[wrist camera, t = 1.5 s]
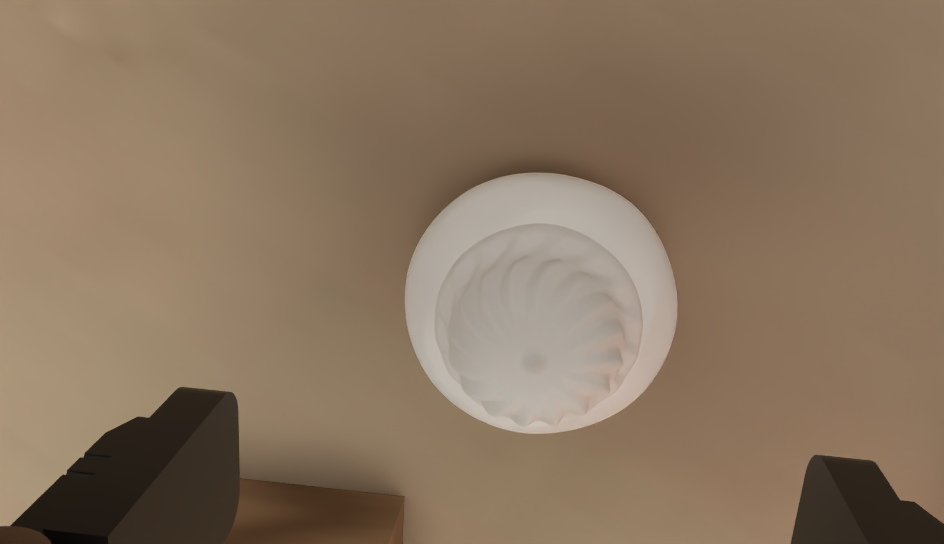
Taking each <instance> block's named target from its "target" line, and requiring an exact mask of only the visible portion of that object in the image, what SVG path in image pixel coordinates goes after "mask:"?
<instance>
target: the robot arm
mask: <svg viewBox="0 0 944 544" xmlns="http://www.w3.org/2000/svg"><path fill="white" fill-rule="evenodd" d="M239 494H240V474H239V426H238V404H237V399H236V397H235V395H234V394H233V393H232V392H225V391H216V390H206V389H196V388H187V387H180V388H178V389H177V390H176V391H175V392H174V393H173V394H172V395H171V396H170V397H169V398H168V399H167V400H166V401H165V402H164V403H163V404H162V405H161V406H160V407H159V408H158V409H157V410H156V411H155V412H154V413H153V415H152V416H151V417H150V418H145V417H136V418H134V419H132V420H130V421H128V422H126V423H124V424H122V425H120V426H118V427H116V428H114V429H112V430H110V431H108V432H106V433H105V434H104V435H103V436H102V437H101V438H100V439H99V440H98V441H97V442H96V443H95V444H94V445H93V446H92V447H91V448H90V449H89V450H87V451H86V452H85V455H84V458H81V457H80V458H79V459H78V460H77V461H76V462H75V463H74V464H73V465H72V466H71V467H70V468H69V469H68V470H67V474H66V475H62V476H61V477H60V478H59V479H58V480H57V481H56V482H55V483H54V484H53V485H52V486H51V487H50V488H49V489H48V490H46V491H45V492H44V493H43V494H42V495H41V496H40V497H39V498H38V499H37V500H36V501H35V502H34V503H33V504H32V505H31V506H30V507H29V508H28V509H27V510H26V511H25V512H24V513H23V514H22V515H21V516H20V517H19V518H18V519H17V520H16V521H15V522H14V523H13V524H12V525H11V526H0V544H223V543H224V542H225V540H226V538H227V537H228V535H229V533H230V531H231V529H232V526H233V524H234V521H235V517H236V513H237V509H238V503H239ZM791 544H944V524H943V523H941V522H940V521H939V520H937V519H936V518H935V517H933V516H932V515H931V514H929V513H928V512H927V511H926V510H924V509H923V508H922V507H920V506H919V505H918V504H916V503H915V502H910V501H901V500H900V499H899V498H898V496H897V495H896V493H895V492H894V490H893V489H892V487H891V486H890V484H889V482H888V481H887V479H886V478H885V476H884V475H883V473H882V472H881V470H880V469H879V467H878V466H877V464H876V463H875V462H873V461H870V460H861V459H851V458H842V457H832V456H823V455H814V456H813V457H812V458H811V460H810V462H809V464H808V466H807V470H806V474H805V478H804V483H803V488H802V493H801V497H800V502H799V507H798V512H797V517H796V521H795V526H794V531H793V536H792V540H791Z"/></svg>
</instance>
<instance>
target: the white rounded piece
mask: <svg viewBox="0 0 944 544" xmlns="http://www.w3.org/2000/svg"><path fill="white" fill-rule="evenodd" d="M677 310H678V303H677V291H676V284H675V280H674V275H673V271H672V268H671V264H670V261H669V258H668V256H667V253H666V251H665V248H664V246H663V244H662V242H661V240H660V238H659V236H658V235H657V233H656V231H655V229H654V228H653V227H652V225H651V224H650V223H649V221H648V220H647V218H646V217H645V216H644V215H643V214H642V213H641V212H640V211H639V210H638V209H637V208H636V207H635V206H634V205H633V204H632V203H631V202H629V201H628V200H627V199H625V198H624V197H622V196H621V195H619V194H617V193H616V192H614V191H612V190H610V189H608V188H606V187H604V186H602V185H599V184H596V183H593V182H590V181H588V180H584V179H581V178H577V177H572V176H568V175H563V174H556V173H521V174H513V175H507V176H503V177H499V178H496V179H493V180H490V181H487V182H484V183H482V184H480V185H478V186H475V187H473V188H472V189H470V190H468V191H466V192H465V193H463V194H462V195H460V196H459V197H458V198H456V199H455V200H454V201H452V202H451V203H450V204H449V205H448V206H447V207H446V208H445V209H443V210H442V211H441V212H440V214H439V215H438V216H437V217H436V218H435V219H434V220H433V221H432V223H431V224H430V225H429V227H428V228H427V230H426V231H425V233H424V234H423V236H422V238H421V239H420V241H419V243H418V245H417V247H416V249H415V251H414V253H413V256H412V259H411V262H410V265H409V268H408V272H407V278H406V284H405V315H406V322H407V328H408V332H409V336H410V339H411V342H412V345H413V348H414V351H415V353H416V356H417V358H418V360H419V362H420V364H421V366H422V368H423V369H424V371H425V373H426V374H427V376H428V377H429V379H430V380H431V381H432V383H433V384H434V385H435V386H436V388H437V389H438V390H439V391H440V392H441V393H442V394H443V395H444V396H445V397H446V398H447V399H448V400H449V401H451V402H452V403H453V404H454V405H456V406H457V407H458V408H460V409H461V410H463V411H464V412H466V413H467V414H469V415H471V416H472V417H474V418H476V419H478V420H480V421H483V422H485V423H487V424H489V425H492V426H495V427H498V428H501V429H505V430H509V431H514V432H519V433H529V434H547V433H557V432H564V431H570V430H574V429H579V428H582V427H586V426H589V425H592V424H595V423H597V422H600V421H602V420H604V419H607V418H609V417H610V416H612V415H614V414H616V413H618V412H619V411H621V410H623V409H624V408H625V407H627V406H628V405H629V404H631V403H632V402H633V401H634V400H635V399H637V398H638V397H639V396H640V395H641V394H642V393H643V392H644V391H645V390H646V388H647V387H648V386H649V385H650V384H651V382H652V381H653V379H654V378H655V377H656V375H657V374H658V372H659V370H660V369H661V367H662V365H663V363H664V361H665V359H666V357H667V355H668V353H669V350H670V347H671V344H672V341H673V338H674V334H675V329H676V323H677Z"/></svg>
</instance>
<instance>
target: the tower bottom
mask: <svg viewBox="0 0 944 544" xmlns="http://www.w3.org/2000/svg"><path fill="white" fill-rule="evenodd" d="M403 519H404V497H403V496H394V495H385V494H376V493H367V492H358V491H349V490H340V489H331V488H322V487H313V486H304V485H295V484H286V483H277V482H268V481H259V480H250V479H241V478H240V494H239V503H238V509H237V513H236V517H235V521H234V524H233V526H232V529H231V531H230V533H229V535H228V537H227V538H226V540H225V542H224V543H223V544H403Z"/></svg>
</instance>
